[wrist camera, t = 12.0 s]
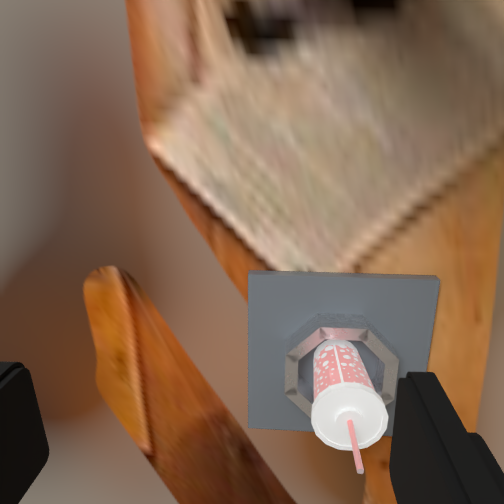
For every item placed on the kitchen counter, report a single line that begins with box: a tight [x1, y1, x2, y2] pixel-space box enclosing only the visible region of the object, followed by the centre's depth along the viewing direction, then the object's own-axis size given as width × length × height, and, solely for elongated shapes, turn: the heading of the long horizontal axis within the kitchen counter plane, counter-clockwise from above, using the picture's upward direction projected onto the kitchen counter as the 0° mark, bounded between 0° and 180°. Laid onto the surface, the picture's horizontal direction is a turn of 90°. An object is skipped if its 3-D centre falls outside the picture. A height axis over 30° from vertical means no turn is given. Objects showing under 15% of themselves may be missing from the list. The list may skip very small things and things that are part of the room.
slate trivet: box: [248, 270, 440, 436], centre depth 41 cm, size 18×18×1 cm
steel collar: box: [284, 313, 399, 418], centre depth 39 cm, size 10×10×3 cm
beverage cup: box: [311, 339, 388, 474], centre depth 34 cm, size 6×6×14 cm
